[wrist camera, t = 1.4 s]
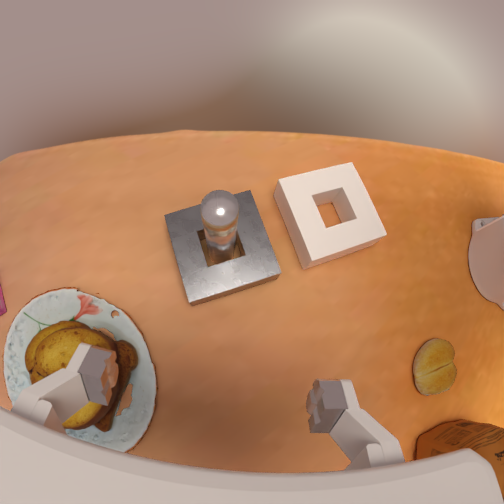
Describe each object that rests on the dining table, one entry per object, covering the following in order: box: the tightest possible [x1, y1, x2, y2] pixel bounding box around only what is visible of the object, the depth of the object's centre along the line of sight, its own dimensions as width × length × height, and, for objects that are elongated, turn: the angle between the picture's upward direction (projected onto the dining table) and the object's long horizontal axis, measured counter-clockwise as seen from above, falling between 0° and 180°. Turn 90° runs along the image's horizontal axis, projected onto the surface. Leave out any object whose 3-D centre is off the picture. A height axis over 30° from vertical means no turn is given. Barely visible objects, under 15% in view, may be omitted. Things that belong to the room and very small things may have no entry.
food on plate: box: [3, 287, 158, 453], centre depth 34 cm, size 25×25×7 cm
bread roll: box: [413, 338, 457, 396], centre depth 40 cm, size 8×9×4 cm
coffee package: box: [416, 419, 504, 501], centre depth 27 cm, size 10×12×22 cm
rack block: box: [273, 162, 387, 270], centre depth 44 cm, size 12×12×5 cm
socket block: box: [164, 190, 281, 306], centre depth 42 cm, size 12×12×4 cm
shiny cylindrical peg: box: [200, 190, 239, 264], centre depth 37 cm, size 4×4×15 cm
